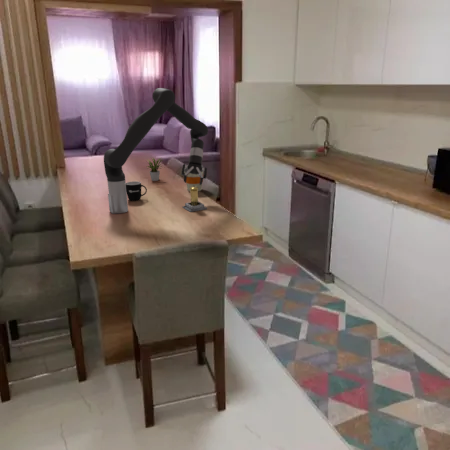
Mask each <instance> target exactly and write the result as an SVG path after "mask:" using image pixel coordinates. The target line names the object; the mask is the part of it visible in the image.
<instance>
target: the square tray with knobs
mask: <svg viewBox="0 0 450 450" xmlns="http://www.w3.org/2000/svg"><path fill="white" fill-rule="evenodd" d="M182 208H183V209H184V210H186V211H188V212H190V213H192V212H199V211H204V210H207V209H208V207H206V206H205V204H204V203H202V202H201V201H199V200H198V205H194V206H191V201H189V202H185V203H184V205H182Z"/></svg>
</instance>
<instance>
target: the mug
mask: <svg viewBox="0 0 450 450" xmlns="http://www.w3.org/2000/svg"><path fill="white" fill-rule="evenodd" d="M142 188H144V190H145V192H144V193H143V194H142ZM147 192H148V189H147V187H146V186H145V185H143V184H142V182H141V181H135V180H133V181H127V182H126V193H127V200H129V201H130V202H137V201H138V202H139V201H140V200H141V198H142V197H143V196H145V195H146V194H147Z"/></svg>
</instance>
